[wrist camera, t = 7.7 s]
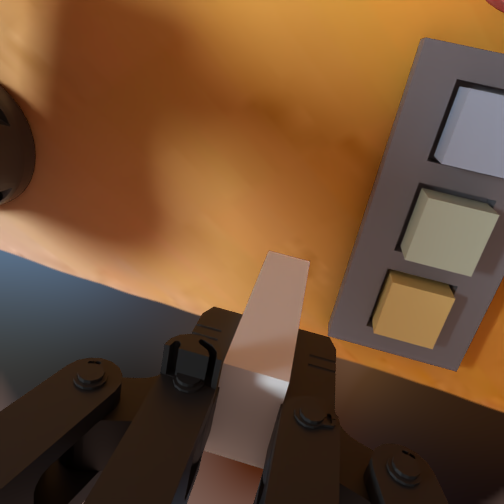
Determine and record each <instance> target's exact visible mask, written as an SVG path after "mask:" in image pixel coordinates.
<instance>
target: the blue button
mask: <svg viewBox="0 0 504 504" xmlns="http://www.w3.org/2000/svg"><path fill="white" fill-rule="evenodd" d="M434 157H435V158H436V159H437V160H438V161H439V162H440V163H441V164H444V165H449V166H453V167H457V168H461V169H466V170H470V171H474V172H478V173H483V174H487V175H491V176H495V177H500V178H504V96H503V95H499V94H494V93H490V92H485V91H480V90H476V89H471V88H466V87H459V89H458V92H457V95H456V97H455V100H454V103H453V105H452V108H451V111H450V114H449V116H448V119H447V122H446V124H445V127H444V130H443V132H442V135H441V138H440V140H439V143H438V146H437V148H436V151H435V154H434Z"/></svg>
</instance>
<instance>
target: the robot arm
mask: <svg viewBox="0 0 504 504" xmlns="http://www.w3.org/2000/svg"><path fill="white" fill-rule="evenodd" d="M34 165H35V147H34V141H33V137H32V133H31V130H30V127H29V125H28V122H27V120H26V118H25V116H24V114H23V112H22V111H21V109H20V108H19V106H18V105H17V103H16V102H15V101H14V99H13V98H12V97H11V96H10V95H9V94H8V93H7V91H5V90H4V89H3V88H2V87H1V86H0V205H1V204H4V203H6V202H9V201H11V200H13V199H15V198H16V197H17V196H19V195H20V194H21V193H22V192H23V191H24V190H25V188H26V187H27V185H28V184H29V182H30V180H31V177H32V174H33V171H34ZM309 265H310V261H307V260H303V259H299V258H295V257H291V256H288V255H284V254H280V253H276V252H272V251H268V254H267V256H266V259H265V261H264V264H263V266H262V268H261V271H260V273H259V276H258V278H257V281H256V283H255V286H254V288H253V291H252V293H251V296H250V298H249V301H248V303H247V305H246V308H245V310H244V313H243V315H242V314H239V313H235V312H232V311H228V310H224V309H221V308H217V307H213V308H211V309H209V310H208V311H206V312H204V313H203V314H202V315H201V317H200V319H199V321H198V322H197V325H196V326H195V328H194V330H193V331H192V334H187V335H186V334H185V335H179V336H176V337H173V338H171V339H170V340H169V341H168V342H166V343H165V345H164V352H163V360H162V367H161V373H160V375H158V376H155V377H150V378H123V377H122V373H121V371H120V368H119V367H118V366H117V365H115V364H114V363H113V362H111V361H108V360H105V359H102V358H86V359H81V360H77V361H75V362H73V363H71V364H69V365H67V366H66V367H64V368H63V369H62V370H60V371H58V372H57V373H55V374H54V375H52V376H51V377H50V378H48V379H47V380H45V381H44V382H42V383H41V384H39V385H38V386H37V387H35V388H34V389H32V390H31V391H29V392H28V393H27V394H25V395H24V396H22V397H21V398H19V399H18V400H16V401H15V402H13V403H12V404H11V405H9V406H8V407H6V408H5V409H3V410H2V411H0V504H82V503H83V502H84V501H85V502H84V504H187V501H188V499H189V496H190V493H191V490H192V487H193V485H194V482H195V479H196V476H197V473H198V470H199V466H200V462H201V457H202V453H203V450H204V448H205V451H207V452H210V453H214V454H217V455H220V456H224V457H227V458H230V459H233V460H236V461H240V462H243V463H246V464H249V465H252V466H256V467H259V468H263V474H262V477H261V480H260V484H259V487H258V490H257V493H256V497H255V500H254V503H253V504H448V502H447V499H446V497H445V495H444V493H443V491H442V489H441V487H440V485H439V483H438V480H437V478H436V476H435V474H434V473H433V471H432V469H431V468H430V466H429V465H428V463H427V462H426V461H425V460H424V459H422V458H421V457H420V456H419V455H418V454H417V453H415V452H414V451H412V450H410V449H408V448H406V447H404V446H401V445H396V444H382V445H380V446H379V447H377V448H375V450H374V451H373V450H371V449H370V448H368V447H366V446H364V445H363V444H361V443H359V442H358V441H356V440H355V439H353V438H352V437H350V436H349V435H348V434H347V433H346V432H345V431H344V430H343V429H342V427H341V426H340V423H339V419H338V416H337V415H336V414H335V410H334V409H335V406H334V405H335V371H336V364H335V362H336V349H335V347H334V345H333V343H332V341H331V339H330V338H329V337H326V336H323V335H319V334H315V333H312V332H308V331H305V330H301V329H299V323H300V317H301V311H302V305H303V300H304V294H305V288H306V282H307V276H308V270H309Z"/></svg>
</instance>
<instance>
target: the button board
mask: <svg viewBox="0 0 504 504" xmlns="http://www.w3.org/2000/svg"><path fill="white" fill-rule="evenodd" d="M459 87H466V88H471V89H476V90H480V91H485V92H490V93H494V94H499V95H503V96H504V54H502V53H497V52H492V51H488V50H483V49H478V48H473V47H469V46H464V45H459V44H454V43H449V42H445V41H440V40H435V39H430V38H423V39H421V40H420V43H419V46H418V50H417V53H416V56H415V59H414V62H413V65H412V68H411V71H410V74H409V77H408V80H407V84H406V87H405V90H404V93H403V96H402V99H401V102H400V105H399V108H398V111H397V114H396V117H395V121H394V124H393V127H392V130H391V133H390V136H389V139H388V142H387V145H386V148H385V151H384V155H383V158H382V161H381V164H380V167H379V170H378V173H377V176H376V179H375V182H374V185H373V189H372V192H371V195H370V198H369V201H368V204H367V207H366V210H365V213H364V216H363V219H362V222H361V226H360V229H359V232H358V235H357V238H356V241H355V244H354V247H353V250H352V253H351V256H350V260H349V263H348V266H347V269H346V272H345V275H344V278H343V281H342V284H341V287H340V290H339V294H338V297H337V300H336V303H335V306H334V309H333V312H332V315H331V318H330V321H329V327H328V336H330V337H334V338H337V339H341V340H344V341H348V342H352V343H355V344H359V345H362V346H366V347H370V348H373V349H377V350H381V351H384V352H388V353H391V354H395V355H399V356H402V357H406V358H409V359H413V360H417V361H420V362H424V363H427V364H431V365H435V366H438V367H442V368H445V369H449V370H453V371H456V372H457V370H458V368H459V366H460V363H461V361H462V359H463V357H464V355H465V353H466V351H467V349H468V347H469V345H470V343H471V341H472V339H473V337H474V335H475V333H476V331H477V329H478V327H479V325H480V323H481V321H482V319H483V317H484V315H485V313H486V311H487V309H488V307H489V305H490V303H491V301H492V299H493V297H494V295H495V293H496V291H497V289H498V287H499V285H500V283H501V281H502V279H503V277H504V178H500V177H495V176H491V175H487V174H483V173H478V172H474V171H470V170H466V169H461V168H457V167H453V166H449V165H444V164H441V163H440V162H439V161H438V160H437V159H436V158H435V157H434V154H435V151H436V148H437V146H438V143H439V140H440V138H441V135H442V132H443V130H444V127H445V124H446V122H447V119H448V116H449V114H450V111H451V108H452V105H453V103H454V100H455V97H456V95H457V92H458V89H459ZM422 188H425V189H429V190H433V191H438V192H442V193H446V194H450V195H454V196H458V197H462V198H467V199H471V200H475V201H479V202H483V203H487V204H488V205H489V206H490V207H492V208H493V209H494V210H495V211H496V212H497V213H498V214H499V217H498V220H497V222H496V224H495V226H494V228H493V230H492V233H491V235H490V237H489V239H488V241H487V243H486V246H485V248H484V250H483V252H482V254H481V257H480V259H479V261H478V263H477V265H476V267H475V270H474V272H473V274H472V276H471V277H470V276H466V275H462V274H458V273H454V272H451V271H447V270H443V269H439V268H435V267H431V266H427V265H423V264H419V263H416V262H412V261H408V260H405V259H404V256H403V252H402V249H401V246H400V245H401V243H402V240H403V237H404V235H405V232H406V229H407V226H408V224H409V221H410V218H411V216H412V213H413V210H414V208H415V205H416V202H417V200H418V197H419V194H420V191H421V189H422ZM389 269H392V270H396V271H400V272H404V273H408V274H411V275H415V276H419V277H423V278H427V279H431V280H435V281H438V282H442V283H446V284H448V285H449V287H450V289H451V291H452V293H453V295H454V297H455V301H454V303H453V305H452V307H451V310H450V312H449V314H448V316H447V319H446V321H445V323H444V325H443V327H442V330H441V332H440V334H439V336H438V338H437V341H436V343H435V345H434V347H433V349H429V348H426V347H422V346H418V345H415V344H411V343H408V342H404V341H400V340H397V339H393V338H389V337H386V336H382V335H378V334H375V333H374V332H373V323H372V313H373V311H374V308H375V305H376V302H377V300H378V297H379V294H380V292H381V289H382V286H383V284H384V281H385V278H386V275H387V273H388V270H389Z"/></svg>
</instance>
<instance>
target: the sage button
mask: <svg viewBox="0 0 504 504" xmlns="http://www.w3.org/2000/svg"><path fill="white" fill-rule="evenodd" d="M498 217H499V214H498V213H497V212H496V211H495V210H494V209H493V208H492V207H490V206H489V205H488V204H487V203H483V202H479V201H475V200H471V199H467V198H462V197H458V196H454V195H450V194H446V193H442V192H438V191H433V190H429V189H425V188H422V189H421V191H420V194H419V197H418V200H417V202H416V205H415V208H414V210H413V213H412V216H411V218H410V221H409V224H408V226H407V229H406V232H405V235H404V237H403V240H402V243H401V245H400V246H401V249H402V252H403V256H404V259H405V260H408V261H412V262H416V263H419V264H423V265H427V266H431V267H435V268H439V269H443V270H447V271H451V272H454V273H458V274H462V275H466V276H470V277H471V276H472V274H473V272H474V270H475V267H476V265H477V263H478V261H479V259H480V257H481V254H482V252H483V250H484V248H485V246H486V243H487V241H488V239H489V237H490V235H491V233H492V230H493V228H494V226H495V224H496V222H497V220H498Z"/></svg>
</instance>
